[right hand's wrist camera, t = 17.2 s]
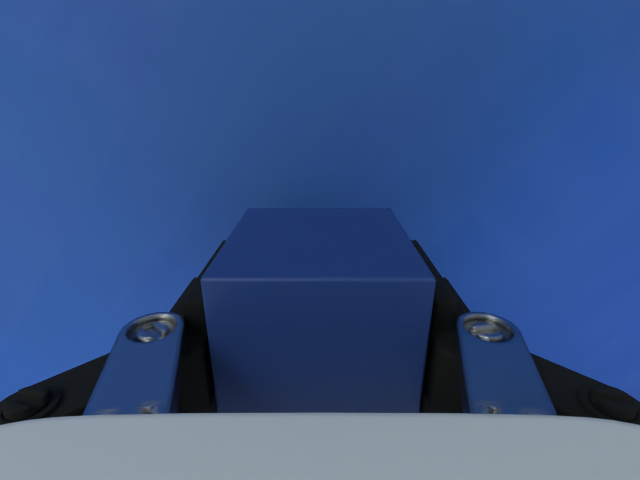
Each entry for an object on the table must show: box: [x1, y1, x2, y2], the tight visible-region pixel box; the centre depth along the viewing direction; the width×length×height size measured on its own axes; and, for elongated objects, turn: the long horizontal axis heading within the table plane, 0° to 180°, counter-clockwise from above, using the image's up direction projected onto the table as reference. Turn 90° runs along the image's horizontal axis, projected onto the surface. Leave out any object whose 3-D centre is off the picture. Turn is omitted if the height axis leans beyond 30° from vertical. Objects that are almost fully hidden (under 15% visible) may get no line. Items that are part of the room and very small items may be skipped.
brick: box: [201, 209, 436, 413], centre depth 10 cm, size 5×5×5 cm
